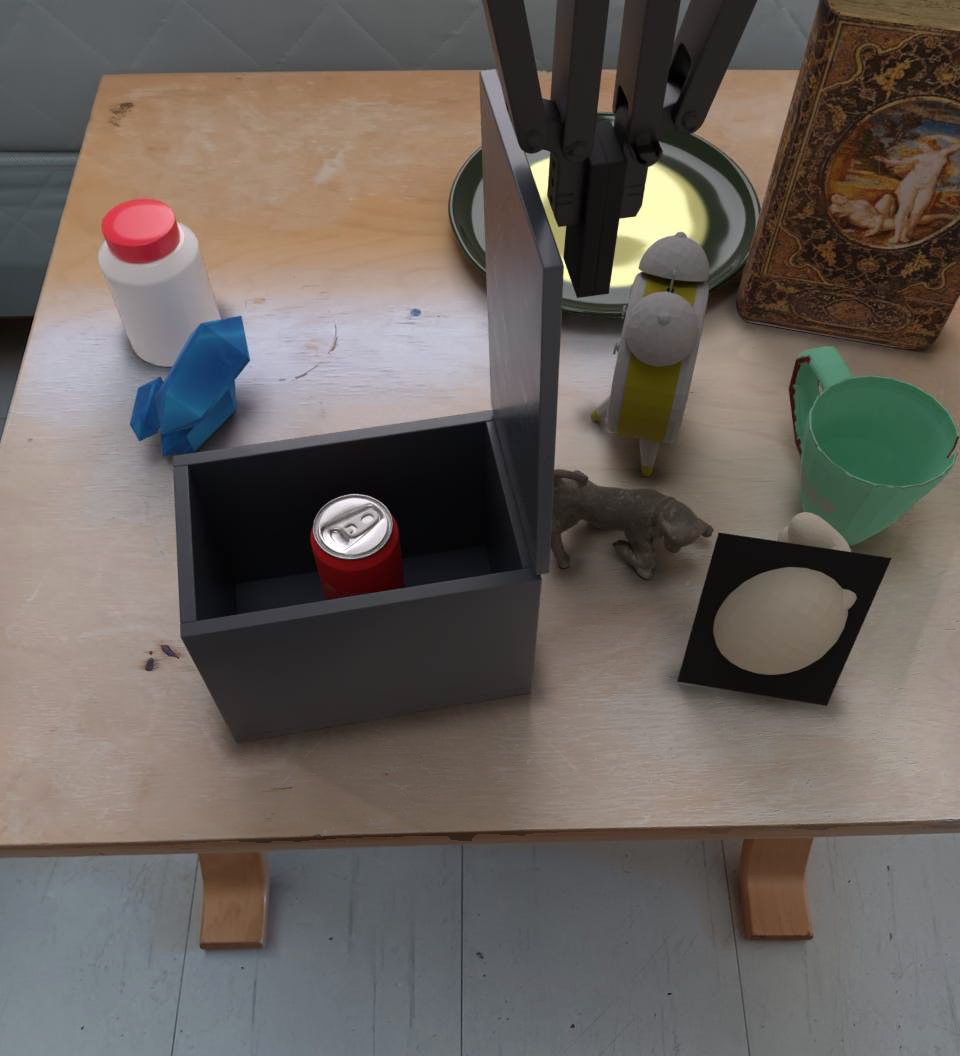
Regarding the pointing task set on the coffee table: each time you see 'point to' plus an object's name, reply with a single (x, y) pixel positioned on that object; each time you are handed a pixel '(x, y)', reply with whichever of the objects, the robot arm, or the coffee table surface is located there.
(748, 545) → the decorative object
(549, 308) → the dark grey box lid
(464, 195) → the plate
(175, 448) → the crystal
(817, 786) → the coffee table surface
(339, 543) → the beverage can
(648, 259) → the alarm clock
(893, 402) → the mug
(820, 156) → the book
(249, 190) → the coffee table surface
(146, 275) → the pill bottle
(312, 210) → the coffee table surface
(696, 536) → the dog figurine
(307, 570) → the dark grey storage box
